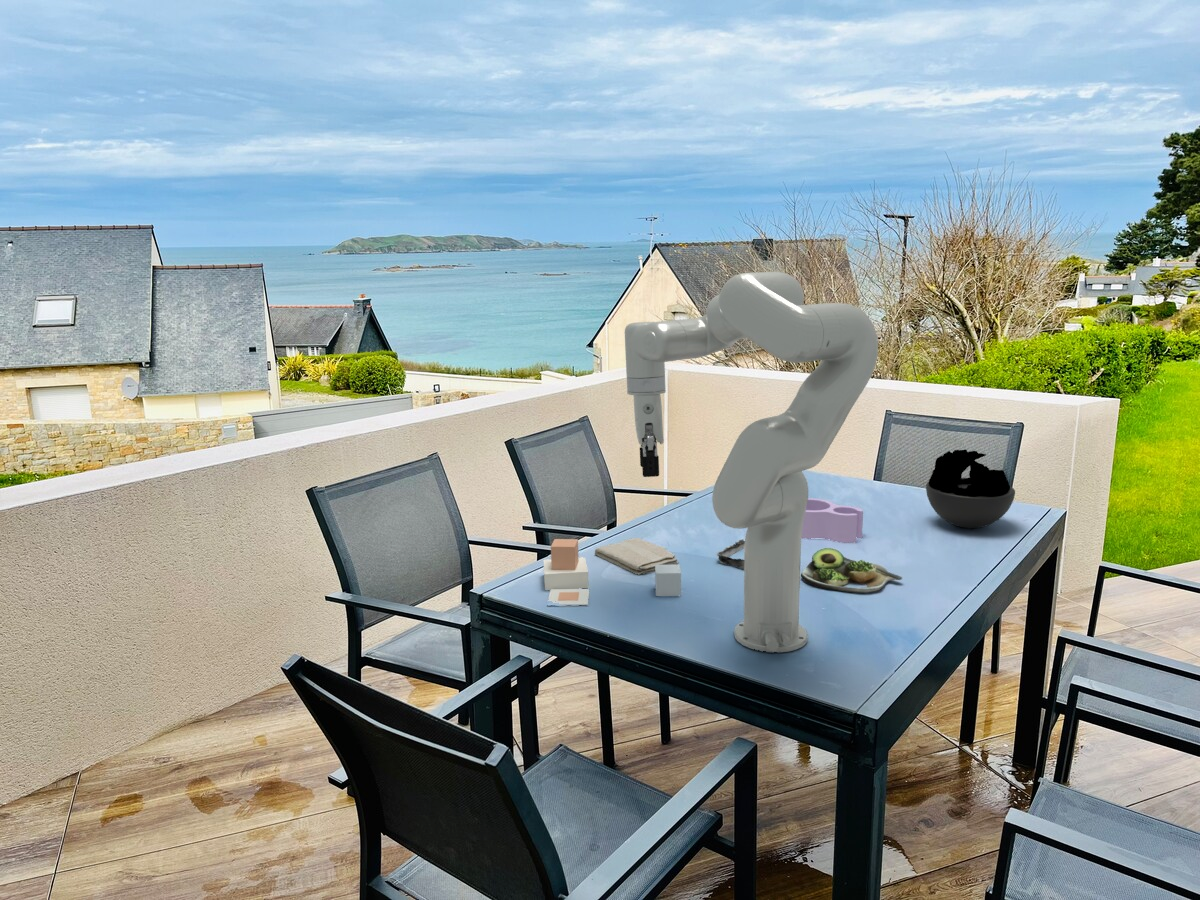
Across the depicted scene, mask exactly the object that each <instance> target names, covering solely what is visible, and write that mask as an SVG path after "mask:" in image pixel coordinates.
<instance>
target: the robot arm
mask: <svg viewBox="0 0 1200 900" xmlns="http://www.w3.org/2000/svg"><path fill="white" fill-rule="evenodd" d="M804 295H805V294H804V290H803V287H802V285H801V284H800V282H799V281H798V280H797V279H796V278H795V277H794V276H792V275H790V274H789V273H785V272H782V271H764V272H763V271H761V272H760V271H759V272H756V271H755V272H743V273H739V274H736V275H734V276H733V277H731V278H729V279H728V280H727V281H726V282H725V283H724V285H722V288H721V290H720V293H719V294H717V295H716V296H714V297H712V299H710V301H709V302H708V304H707V307H706V313H705V315H701V316H699V317H695V318H685V319H673V320H662V321H639V322H631V323H629V324H626V326H625V328H624V344H625V345H624V349H625V368H626V369H625V371H626V375H625V376H626V390H627V391H626V392H627V395H629V396H633V407H634V408H633V411H634V425H635V432H636V437H637V440H638V441H637V442H638V444H639V445H640V447H639V462H640V464H639V465H640V467H641V469H642V470H641V471H642V477H643V478H653V477H655V478H656V477H659V476H660V463H659V462H660V459H659V455H658V443H659V444H660V445H663V444H664V442H665V441H664V424H663V423H664V422H663V405H662V397H661V395H662V394H665V393H666V367H665V366H666V365H665V363H666V362H668V363H669V362H674V361H683V360H693V359H694V360H695V359H699V358H704V357H706V356H709V355H712V354H715V353H718V352H720V351H723V350H726V349H727V348H730V347H732V346H733V345H735V344H736V343H737V341H740V340H742V339H743V340H744V339H745V338H746V339H748V340H749V341H751V342H752V343H754V344H755V345H756V346H759V347H760V348H762V349H763V350H765V351H766V352H767V353H768V354H770V355H772V356H773V357H775V358H777V359H779V360H781V361H783V362H788V363H792V364H795V363H797V364H801V363H809V362H814V361H815V362H816V361H820V362H819V364H818V365H817V367H816V368H814V370H813V371H812V372H810V374H808V376H807V377H806V378H805V379H804V381H803V382H802V384H801V385H800V387H799V389H798V391H797V392H796V394H795V397H794V398H793V400H792V401H791V403H790V405H789V406H788V407H787V409H786V410H785V411H784V412H782V413H781V414H779V415H775V416H770V417H765V418H761V419H758V420H756V421H753V422H752V423H750V424H749V425H748V426H746V427H745V429H743V430H742V432H741V433H740V434H739V435H738V437H737V439H736V441H735V443H734V445H733V446H732V448H731V450H730V452H729V454H728V456H727V459H726V460H725V462H724V464H723V466H722V469H721V471H720V473H719V475H718V476H717V479H716V481H715V483H714V487H713V490H712V498H711V499H712V501H711V503H712V508H713V511H714V514H715V516H716V517H717V519H718V520H719V521H720V523H722V525H723V524H724V525H725V526H726V527H729V528H732V529H737V530H738V529H739V530H740V529H742V530H743V529H746V533H745V539H744V541H745V549H744V551H743V552H744V555H743V558H744V559H743V560H744V570H743V620H742V621H741V622H739V623H738V624H737V625H736V626H735V627H734V637H735V639H736V641H737V642H738V643H739V644H740V645H742V646H743V647H746V648H748V649H751V650H754V649H755V650H754V651H758V650H760V651H759V652H763V651H766V652H765V653H774V652H777V653H787V652H792V651H795V650H799V649H801V648H802V647H804V646H805V645H806V644H807V643H808V631H807V630H806V628H804V627H803V626H802V625H801V624H800V621H799V620H800V594H801V593H800V588H801V587H800V586H801V555H802V538H801V537H802V527H803V520H804V515H805V511H806V507H807V502H808V498H809V485H808V482H807V478H806V476H805V474H804V473H803V471H807V470H809V469H812V468H815V467H816V466H817V465H818V464H820V462H821V461H822V460H823V458H824V457H825V455H826V454H827V452H828V450H829V448H830V447H831V445H832V443H833V442H834V439H835V438H836V436H837V435H838V433H839V431H840V430H841V428H842V427H843V425H844V423H845V421H846V420H847V417H848V416H849V414H850V412H851V411H852V409H853V407H854V406H855V403H857V402H858V401H857V400H858V399H859V398H860V396H861V394H862V393H863V391H864V390H865V388H866V387H867V385H868V383H869V381H870V380H871V377H872V375H873V373H874V370H875V367H876V364H877V361H878V354H879V341H878V335H877V332H876V328H875V326H874V324H873V322H872V319H870V317H869V316H868V315H867V313H866V312H865V311H863V309H861V308H860V307H857V306H855V305H852V304H850V303H849V304H848V303H844V302H827V303H826V302H825V303H824V302H823V303H813V304H804V299H805V297H804Z"/></svg>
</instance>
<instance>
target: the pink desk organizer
mask: <svg viewBox="0 0 1200 900" xmlns="http://www.w3.org/2000/svg"><path fill="white" fill-rule="evenodd" d="M863 522H864V510H863V509H862V508H860V507H856V506H852V505H851V506H850V505H840V504H836V503H834V502H833V501H830V500H826V499H821V498H812V497H810V498H809V497H808V502H807V507H806V511H805V515H804V520H803V527H802V537H801V539H802V538H808V539H807V540H812V539H811V538H825V539H824V540H827V539H830V540H829V541H831V540H833V541H832V542H835V541H837V542H836V543H840V542H842V543H843V544H853V543H854V542H855V543H857V539H862V538H863ZM856 537H857V538H856ZM809 538H810V539H809Z"/></svg>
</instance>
